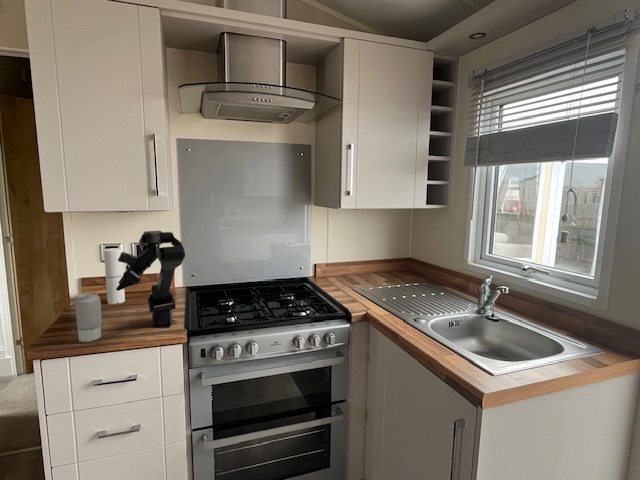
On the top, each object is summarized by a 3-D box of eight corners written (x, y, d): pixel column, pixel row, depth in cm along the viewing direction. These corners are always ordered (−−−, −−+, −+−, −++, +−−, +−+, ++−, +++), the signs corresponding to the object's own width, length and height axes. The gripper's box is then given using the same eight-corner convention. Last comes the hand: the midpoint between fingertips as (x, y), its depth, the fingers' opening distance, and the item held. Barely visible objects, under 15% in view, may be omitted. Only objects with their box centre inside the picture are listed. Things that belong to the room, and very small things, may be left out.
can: (73, 331, 125) (71, 298, 124) (81, 323, 132) (79, 292, 131) (98, 329, 127) (95, 296, 126) (104, 322, 134) (102, 290, 133)
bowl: (104, 333, 134) (103, 323, 133) (95, 341, 127) (94, 330, 127) (85, 334, 133) (84, 323, 133) (74, 341, 127) (73, 330, 126)
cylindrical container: (103, 303, 168) (100, 250, 165) (116, 298, 175) (113, 247, 172) (116, 304, 166) (112, 251, 163) (128, 300, 173) (125, 248, 169)
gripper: (132, 241, 153) (104, 268, 151) (129, 249, 137) (97, 280, 134) (153, 258, 158) (126, 285, 155) (152, 268, 141) (122, 298, 139)
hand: (118, 286), depth 146 cm, fingers open, 9 cm apart
